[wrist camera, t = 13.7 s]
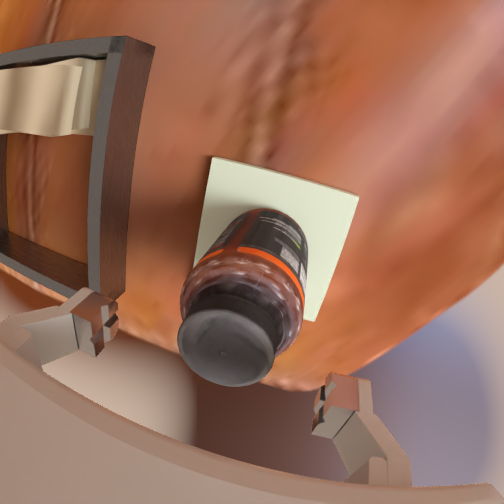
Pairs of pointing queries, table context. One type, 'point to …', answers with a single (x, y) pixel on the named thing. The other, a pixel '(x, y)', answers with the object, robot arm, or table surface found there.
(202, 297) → the supplement bottle
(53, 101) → the offcut stack
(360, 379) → the robot arm
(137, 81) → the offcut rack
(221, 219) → the mat
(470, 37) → the table surface
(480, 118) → the table surface
